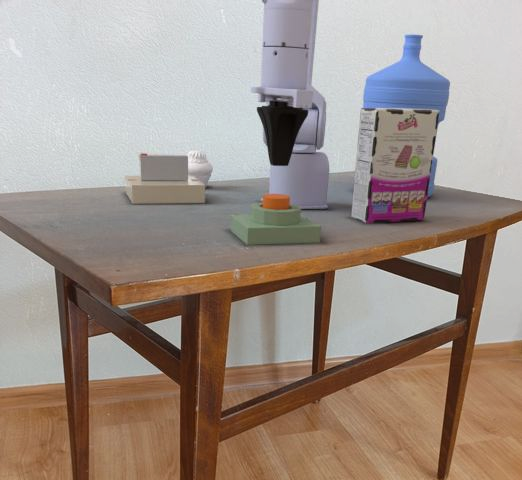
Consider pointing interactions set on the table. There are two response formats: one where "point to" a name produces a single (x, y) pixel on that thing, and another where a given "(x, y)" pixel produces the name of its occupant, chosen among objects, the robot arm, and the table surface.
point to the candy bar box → (393, 164)
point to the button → (276, 201)
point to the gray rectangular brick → (163, 167)
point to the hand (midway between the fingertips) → (279, 165)
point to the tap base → (164, 191)
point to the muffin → (199, 166)
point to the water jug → (409, 88)
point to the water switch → (275, 226)
